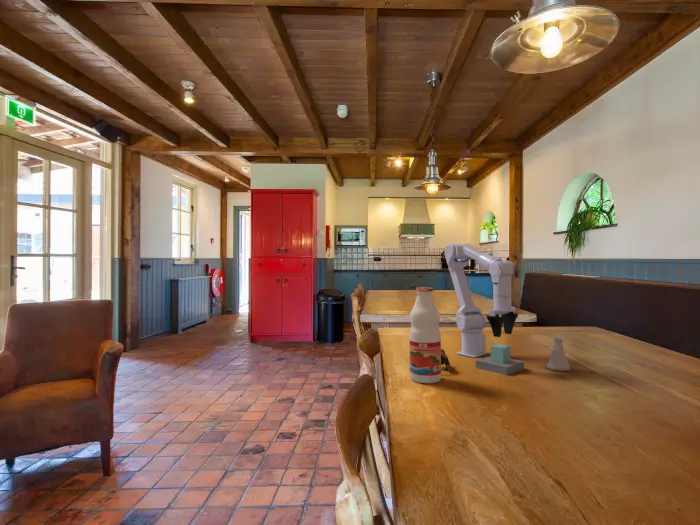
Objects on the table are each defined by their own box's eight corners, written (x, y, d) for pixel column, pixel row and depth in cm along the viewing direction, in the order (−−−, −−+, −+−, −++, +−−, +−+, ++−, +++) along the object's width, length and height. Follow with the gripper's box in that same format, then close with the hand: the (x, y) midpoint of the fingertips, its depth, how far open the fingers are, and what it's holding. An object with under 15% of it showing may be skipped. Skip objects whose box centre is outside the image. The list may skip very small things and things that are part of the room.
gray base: (493, 363, 132) (493, 355, 132) (524, 370, 124) (524, 361, 124) (475, 369, 126) (475, 360, 126) (506, 377, 117) (506, 367, 117)
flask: (574, 372, 119) (574, 341, 120) (550, 371, 121) (549, 340, 121) (566, 366, 127) (565, 336, 127) (543, 365, 128) (542, 336, 128)
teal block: (498, 358, 128) (498, 344, 128) (510, 361, 124) (510, 346, 124) (490, 360, 125) (490, 345, 125) (503, 363, 122) (502, 348, 122)
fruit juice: (443, 376, 116) (442, 286, 116) (437, 385, 107) (436, 288, 108) (414, 373, 120) (413, 286, 120) (406, 381, 111) (405, 288, 111)
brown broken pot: (450, 377, 117) (437, 354, 117) (425, 385, 122) (412, 364, 122) (457, 358, 128) (445, 338, 128) (434, 367, 133) (422, 347, 133)
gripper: (502, 297, 120) (503, 339, 120) (523, 295, 130) (524, 334, 130) (482, 296, 126) (483, 336, 126) (504, 294, 135) (504, 331, 135)
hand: (502, 335), depth 128 cm, fingers open, 7 cm apart
